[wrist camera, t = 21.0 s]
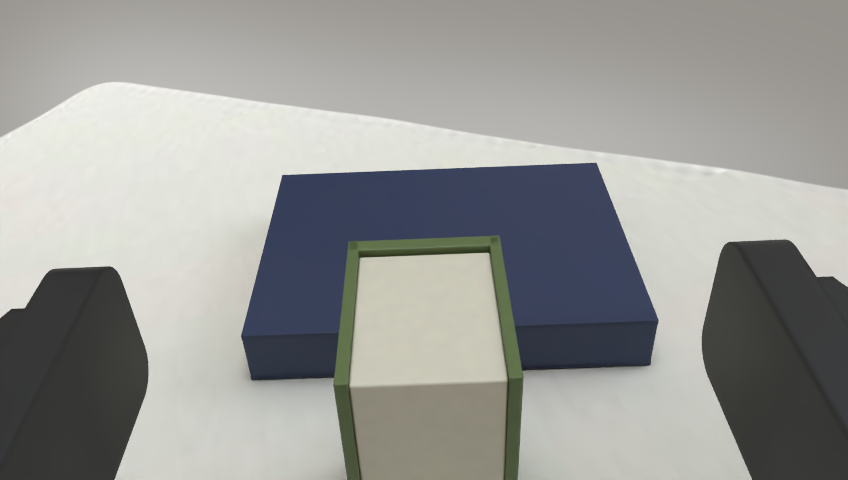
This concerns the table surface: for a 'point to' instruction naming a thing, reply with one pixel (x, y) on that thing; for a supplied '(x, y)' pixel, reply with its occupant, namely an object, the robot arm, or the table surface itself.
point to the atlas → (448, 218)
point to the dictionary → (428, 362)
